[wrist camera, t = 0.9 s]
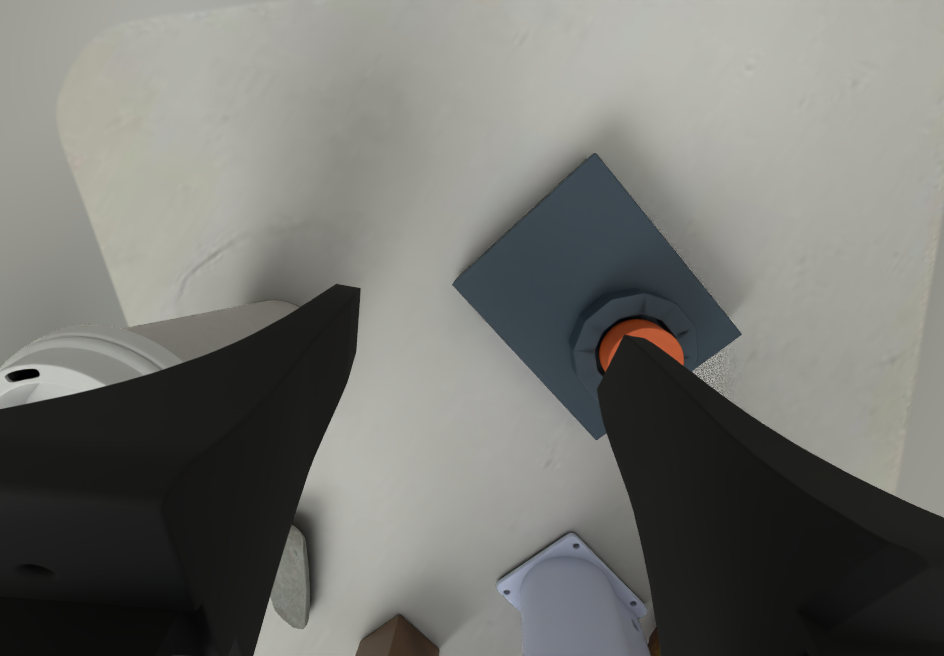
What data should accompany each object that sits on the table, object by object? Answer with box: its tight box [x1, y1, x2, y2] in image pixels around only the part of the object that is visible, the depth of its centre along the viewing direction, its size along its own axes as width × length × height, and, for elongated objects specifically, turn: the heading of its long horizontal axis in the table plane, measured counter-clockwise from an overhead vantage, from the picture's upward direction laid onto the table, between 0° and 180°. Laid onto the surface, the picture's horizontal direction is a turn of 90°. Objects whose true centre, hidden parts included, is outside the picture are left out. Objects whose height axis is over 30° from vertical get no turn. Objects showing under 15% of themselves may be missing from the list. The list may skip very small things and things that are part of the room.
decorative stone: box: [270, 525, 310, 629], centre depth 34 cm, size 11×1×5 cm
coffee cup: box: [0, 300, 299, 409], centre depth 22 cm, size 10×10×15 cm
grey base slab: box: [452, 153, 742, 440], centre depth 25 cm, size 14×11×4 cm
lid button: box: [599, 319, 684, 372], centre depth 23 cm, size 4×4×2 cm
